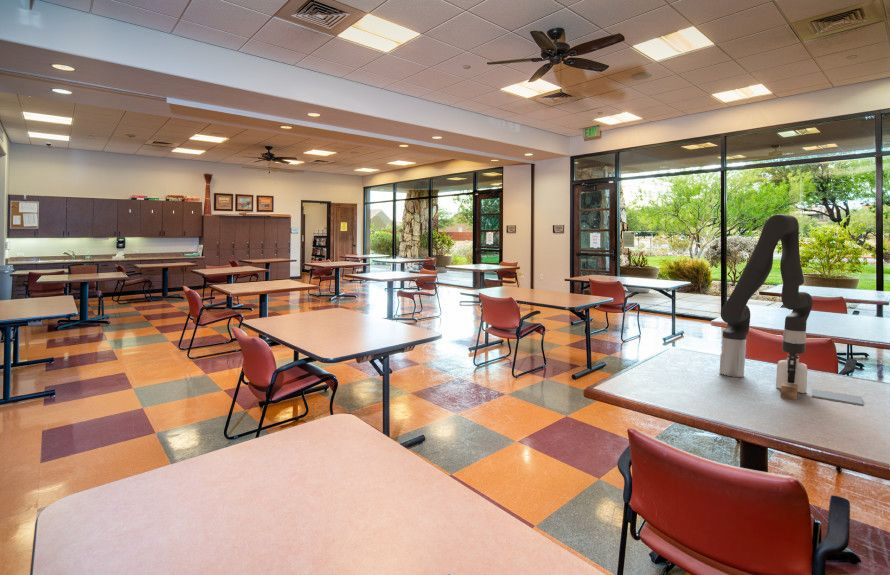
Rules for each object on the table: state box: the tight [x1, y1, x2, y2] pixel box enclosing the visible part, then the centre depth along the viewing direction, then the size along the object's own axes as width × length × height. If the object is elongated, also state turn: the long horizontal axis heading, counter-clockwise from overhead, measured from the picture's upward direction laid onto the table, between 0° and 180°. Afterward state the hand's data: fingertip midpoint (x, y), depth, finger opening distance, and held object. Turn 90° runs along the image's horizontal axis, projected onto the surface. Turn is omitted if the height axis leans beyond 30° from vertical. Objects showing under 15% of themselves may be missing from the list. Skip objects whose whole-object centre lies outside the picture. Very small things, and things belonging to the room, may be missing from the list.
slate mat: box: [811, 388, 864, 406], centre depth 180 cm, size 15×10×1 cm, turn 51°
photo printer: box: [775, 359, 808, 394], centre depth 188 cm, size 10×4×12 cm, turn 40°
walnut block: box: [780, 382, 799, 401], centre depth 181 cm, size 5×5×5 cm
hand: (791, 380), depth 188 cm, fingers closed on photo printer, 4 cm apart
